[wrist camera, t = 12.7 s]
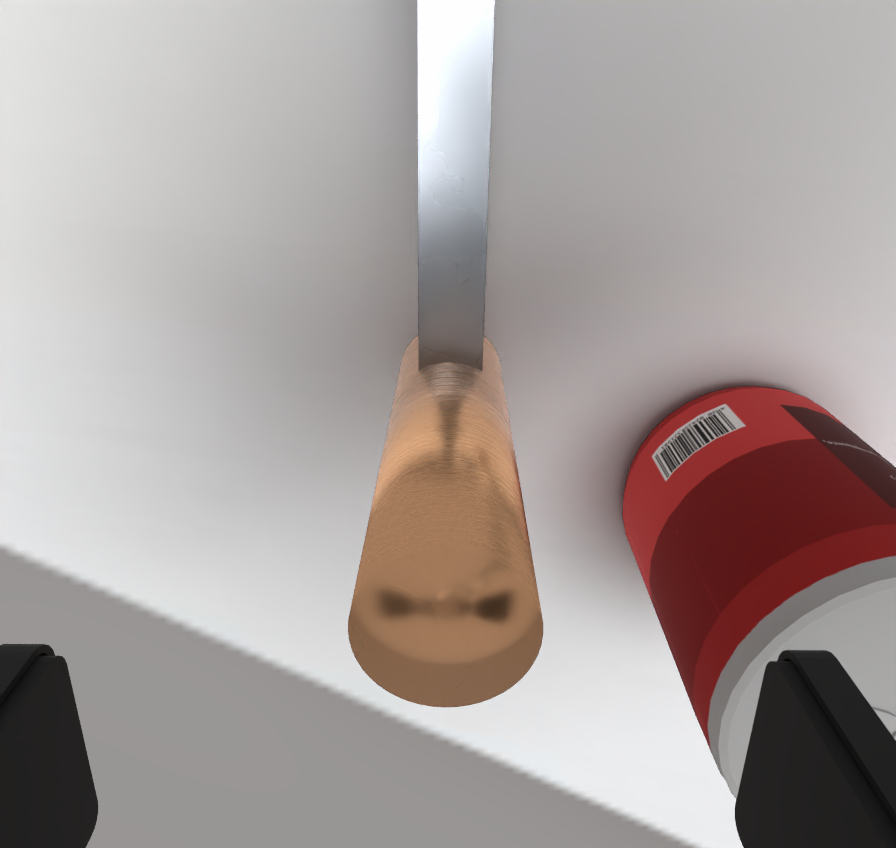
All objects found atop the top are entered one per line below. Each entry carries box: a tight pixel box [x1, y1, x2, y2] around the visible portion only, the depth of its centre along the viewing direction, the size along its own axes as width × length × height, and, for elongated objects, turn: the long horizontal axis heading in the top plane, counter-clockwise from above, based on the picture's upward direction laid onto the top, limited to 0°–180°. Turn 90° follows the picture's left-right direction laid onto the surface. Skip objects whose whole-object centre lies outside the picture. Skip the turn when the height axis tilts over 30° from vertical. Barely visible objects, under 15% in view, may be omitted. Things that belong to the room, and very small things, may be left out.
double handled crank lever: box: [348, 0, 543, 707], centre depth 15 cm, size 17×3×13 cm, turn 179°
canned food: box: [623, 386, 896, 799], centre depth 21 cm, size 8×8×11 cm
